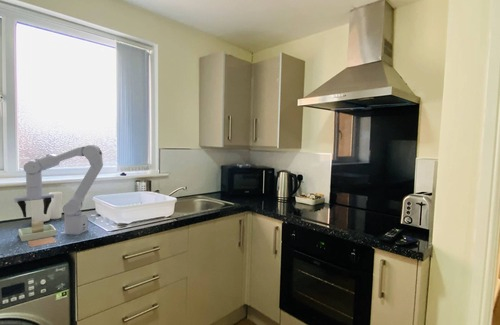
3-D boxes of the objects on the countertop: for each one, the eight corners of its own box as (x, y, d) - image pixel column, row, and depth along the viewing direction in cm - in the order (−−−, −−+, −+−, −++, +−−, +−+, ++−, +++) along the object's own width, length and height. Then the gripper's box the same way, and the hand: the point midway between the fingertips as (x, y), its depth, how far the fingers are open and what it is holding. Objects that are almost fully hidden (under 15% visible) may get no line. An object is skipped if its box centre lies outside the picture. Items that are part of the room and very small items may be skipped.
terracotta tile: (56, 242, 120) (56, 241, 120) (30, 248, 113) (30, 246, 113) (52, 237, 126) (52, 236, 126) (27, 242, 120) (27, 241, 120)
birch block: (43, 235, 128) (43, 222, 128) (32, 237, 126) (32, 224, 125) (42, 233, 131) (42, 220, 131) (31, 234, 128) (31, 222, 128)
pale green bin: (56, 236, 128) (56, 229, 128) (21, 242, 119) (21, 235, 119) (51, 230, 137) (51, 224, 137) (18, 235, 128) (18, 229, 128)
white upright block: (60, 216, 164) (60, 191, 163) (64, 218, 160) (64, 192, 159) (47, 218, 159) (46, 192, 158) (50, 220, 154) (50, 194, 154)
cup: (45, 219, 156) (44, 194, 155) (54, 221, 152) (53, 196, 151) (27, 223, 148) (27, 197, 147) (36, 225, 145) (35, 198, 144)
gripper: (50, 184, 136) (51, 211, 137) (12, 187, 125) (13, 216, 126) (54, 185, 132) (55, 213, 132) (15, 189, 121) (16, 219, 122)
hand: (35, 215), depth 129 cm, fingers open, 7 cm apart
